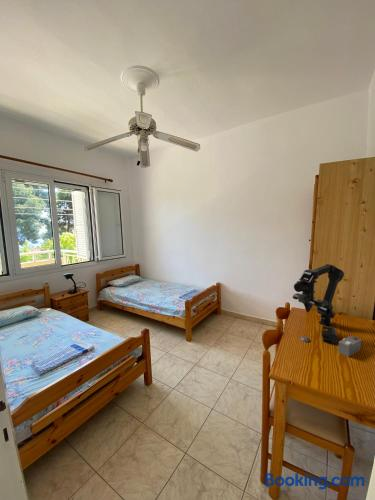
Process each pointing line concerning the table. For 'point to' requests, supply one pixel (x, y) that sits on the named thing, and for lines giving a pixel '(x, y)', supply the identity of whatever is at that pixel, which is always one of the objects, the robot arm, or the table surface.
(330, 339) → the end cap
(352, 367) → the table surface
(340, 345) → the camera body
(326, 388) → the table surface
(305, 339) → the lens cap
